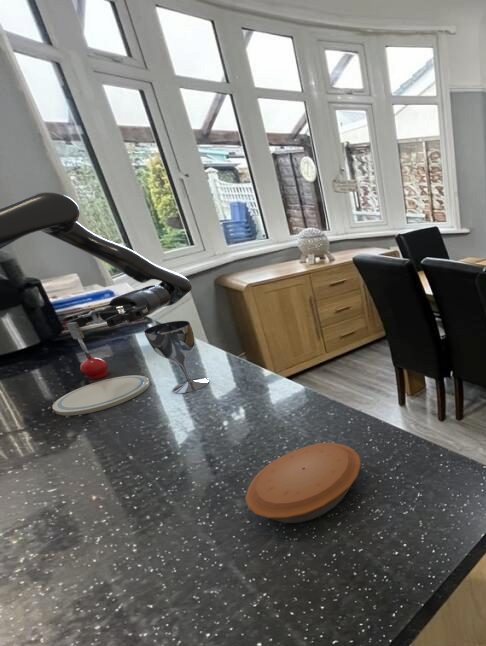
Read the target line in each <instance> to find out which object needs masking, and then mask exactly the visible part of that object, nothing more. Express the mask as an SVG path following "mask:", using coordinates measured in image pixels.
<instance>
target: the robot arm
mask: <svg viewBox="0 0 486 646" xmlns="http://www.w3.org/2000/svg"><path fill="white" fill-rule="evenodd" d="M79 218H80V207H79V205H78V204H77V202H76V201H74V199H73V198H71V197H69V196H67V195H65V194H63V193H57V192H51V191H45V192H44V191H43V192H38V193H35V194H32V195H30V196H28V197H25V198H23V199H20V200H17V201H15V202H12V203H10V204H8V205H5V206H2V207H0V250H2V249H4V248H6V247H7V246H9V245H11V244H13V243H14V242H15V241H17V240H19V239H21V238H23V237H25V236H28V235H30V234H34V233H36V232H42V233H45V234H47V235H48V236H51V237H52V238H55V239H57V240H60V241H62V242H64V243H66V244H68V245H70V246H73V247H74V248H76V249H78V250H81V251H83V252H85V253H86V254H89V255H91V256H93V257H95V258H97V259H99V260H100V261H102V262H104V263H105V264H108V265H110V266H111V267H112V268H114V269H116V270H117V271H119V272H121V273H123V274H124V275H125V276H128V277H129V278H131V279H133V280H135V281H136V282H138V283H140V284H144V283H147V282H149V281H152V280H155V281H159V282H160V283H159V284H153V285H147V286H145V287H142V288H139V289H135V290H131V291H129V292H126V293H123V294H121V295H119V296H115V297H114V298H112V299H111V300H110V301H109V302H108V303H109V304H108V305H107V306H103V307H102V308H98V309H96V308H90V309H88V310H85V311H82V312H79V313H77V314H76V313H75V314H73V315H72V319H70V320H68V321H67V323H72V322H77V323H78V325H79V327H80V328H82V327H85V326H87V325H90V324H91V325H92V324H97V325H99V324H103V323H106V324H107V326H108V327H109V328H112V327H116V326H118V325H120V324H122V323H134V322H137V321H139V320H141V319H143V318H146V317H147V316H149V315H151V314H153V313H155V312H156V311H157V310H161V309H162V308H164V307H171V306H173V305H175V304H177V303H178V302H180V301H181V300H182V299H183V298H184V297H185V296H186V295H188V294H189V292H191V290H192V287H193V286H192V283H191V281H190V280H189V279H188V278H187V277H186V276H184V275H182V274H180V273H178V272H175V271H173V270H169V269H167V268H165V267H162V266H160V265H157V264H155V263H153V262H152V261H150V260H148V259H147V258H145V256H142V255H141V254H139V253H138V252H136V251H134V250H132V249H130V248H128V247H126V246H124V245H122V244H119V243H116V242H114V241H111V240H108V239H106V238H104V237H101V236H99V235H98V234H95V233H93V232H92V231H91V230H89V229H87V228H86V227H85V226H83V225H82V224H80V223H79V221H78V220H79ZM99 318H100V319H101V320H100V319H99Z"/></svg>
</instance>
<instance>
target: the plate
mask: <svg viewBox="0 0 486 646" xmlns="http://www.w3.org/2000/svg"><path fill="white" fill-rule="evenodd" d="M150 385H151V382H150V380H149V378H148V377H147V376H144V375H140V374H139V375H138V374H137V375H136V374H135V375H131V374H130V375H123V376H122V375H121V376H117V377H112V378H107V379H103V380H100V381H96V382H93V383H90V384H86V385H83V386H81V387H79V388H77V389H74V390H72V391H69V392H68V393H66V394H65V395H63V396H61V397H59V398H58V399H57V400H56V401H54V403H53V404H52V406H51V407H52V408H51V409H52V410H53V412H54V414H56V415H59V416H66V417H68V416H79V415H87V414H90V413H91V414H92V413H96V412H100V411H103V410H107V409H109V408H113V407H115V406H118V405H121V404H123V403H125V402H128V401H130V400H132V399H135V398H136V397H138V396H140V395H141V394H143V393H144V392H146V391H147V389H148V388H149V387H150Z"/></svg>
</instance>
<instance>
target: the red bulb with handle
mask: <svg viewBox="0 0 486 646" xmlns="http://www.w3.org/2000/svg"><path fill="white" fill-rule="evenodd" d="M65 326H66V327H67V329H68V331H69V333H70V335H71V337H72V339H73V340H77V341H78V344H79V345H80V347H81V349H82V351H83V353H84V355H85V356H86V359H85V360H83V361H82V362H81V363H80V366H79V370H80V372H81V373H82V374H83V376H84V375H85V376H87V378H88V380H91V381H93V380H94V381H95V380H99V379H102V378H104V377H107V376H108V375H109V371H108V369H109V364H108V363H107V361H106V360H105V359H102V358H101V357H92V356H91V354H90V352H89V350H88V348H87V346H86V344H85V342H84V340H83V339H84V338H85V335H84V333H83V331H82V330H81V327H79V325H78V323H77V322H72V323H68V322H67V323H65Z"/></svg>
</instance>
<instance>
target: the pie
mask: <svg viewBox="0 0 486 646" xmlns="http://www.w3.org/2000/svg"><path fill="white" fill-rule="evenodd" d="M361 466H362V463H361V456H360V455H359V454H358V452H357V451H356V450H355V449H353V448H351V447H350V446H348V445H345V444H340V443H336V442H319V443H314V444H311V445H306V446H303V447H300V448H298V449H297V448H296V449H294V450H291V451H289V452H287V453H286V454H283V455H282V456H279V457H277V458H275V459H274V460H273V461H271V462H270V463H269V464H267V465H265V466H264V467H263V468H262V469H261V470H260V471H259V472H258V473H257V474H256V475H255V476H254V477H253V479H252V481H251V482H250V484H249V486H248V488H247V490H246V494H245V498H244V500H245V503H246V506H247V509H249V510H250V511H251V512H252V513H254V514H255V515H256V516H259V517H262V518H266V519H271V520H273V521H276V522H279V523H283V524H300V523H305V522H309V521H312V520H314V519H316V518H319V517H321V516H323V515H325V514H326V513H328V512H330V511H331V510H333V509H334V508H335V507H337V505H339V504H340V502H342V501H343V499H344V498H345V497H346V495H347V494H348V492H349V490H350V488H351V486H352V485H353V483H354V482H355V480H357V478H358V475H359V473H360V469H361Z"/></svg>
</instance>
